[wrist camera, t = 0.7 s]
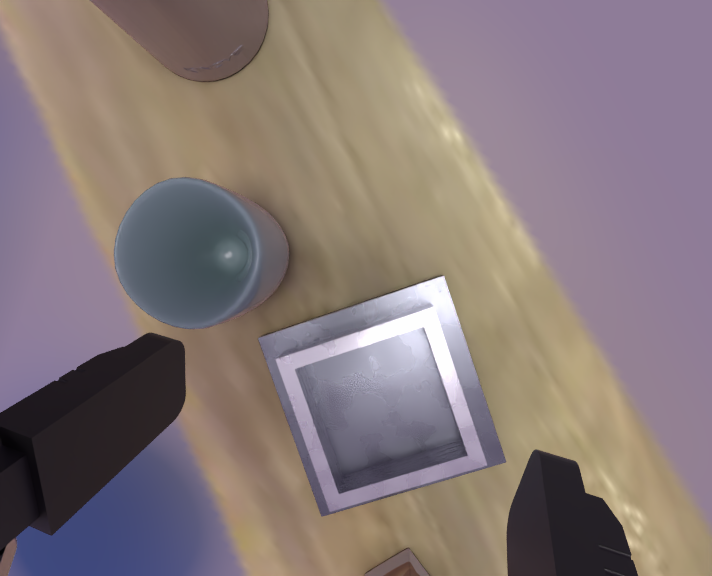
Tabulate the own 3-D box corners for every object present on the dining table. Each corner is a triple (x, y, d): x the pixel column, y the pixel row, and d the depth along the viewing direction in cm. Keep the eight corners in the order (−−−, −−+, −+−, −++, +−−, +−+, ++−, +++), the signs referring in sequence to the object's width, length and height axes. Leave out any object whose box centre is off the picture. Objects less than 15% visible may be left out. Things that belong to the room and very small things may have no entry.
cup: (319, 241, 32) (290, 233, 22) (262, 327, 32) (207, 359, 22) (232, 181, 32) (162, 146, 22) (176, 268, 32) (84, 273, 23)
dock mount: (261, 335, 32) (247, 345, 29) (441, 275, 31) (449, 277, 28) (323, 508, 33) (316, 538, 29) (502, 455, 32) (516, 480, 28)
